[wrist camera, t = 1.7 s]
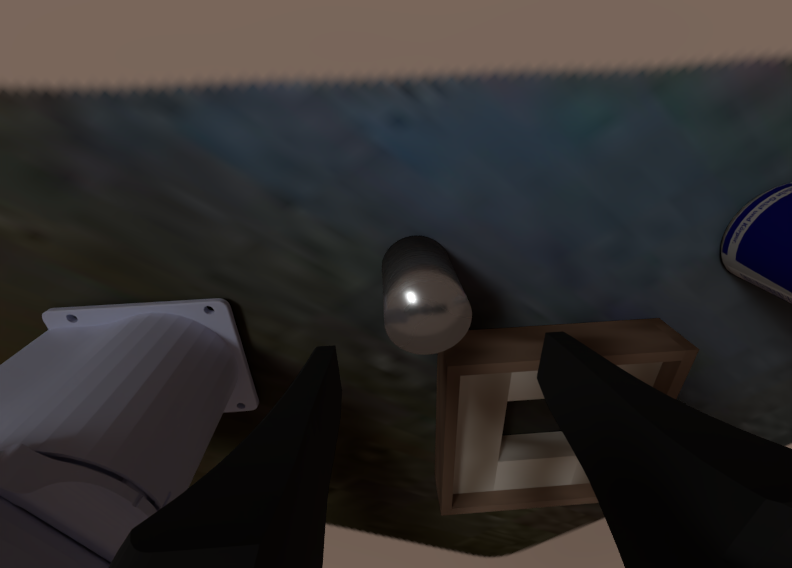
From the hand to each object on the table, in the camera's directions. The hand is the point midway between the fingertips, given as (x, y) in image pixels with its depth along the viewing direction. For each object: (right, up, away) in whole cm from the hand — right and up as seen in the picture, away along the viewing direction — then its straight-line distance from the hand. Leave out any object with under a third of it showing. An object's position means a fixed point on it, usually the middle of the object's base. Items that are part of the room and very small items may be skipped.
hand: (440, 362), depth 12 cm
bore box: (+8, -6, +12) cm, 16 cm away
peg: (-1, +4, +7) cm, 8 cm away
